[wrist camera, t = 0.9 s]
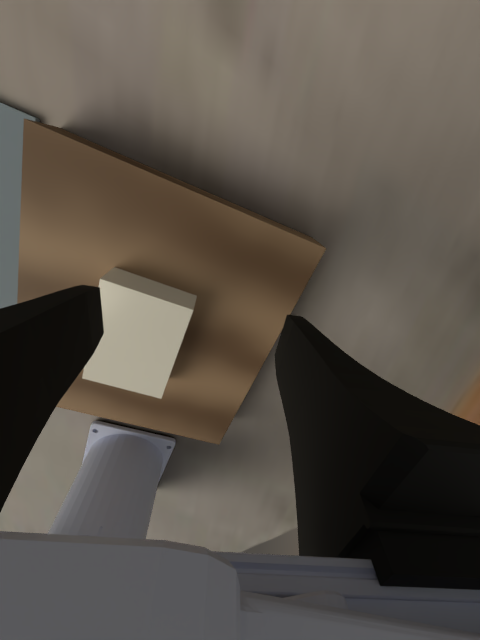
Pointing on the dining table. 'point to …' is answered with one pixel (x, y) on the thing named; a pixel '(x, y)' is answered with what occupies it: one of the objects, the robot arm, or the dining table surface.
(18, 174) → the mat
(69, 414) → the dining table surface
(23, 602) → the robot arm
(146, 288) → the tile
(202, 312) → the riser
